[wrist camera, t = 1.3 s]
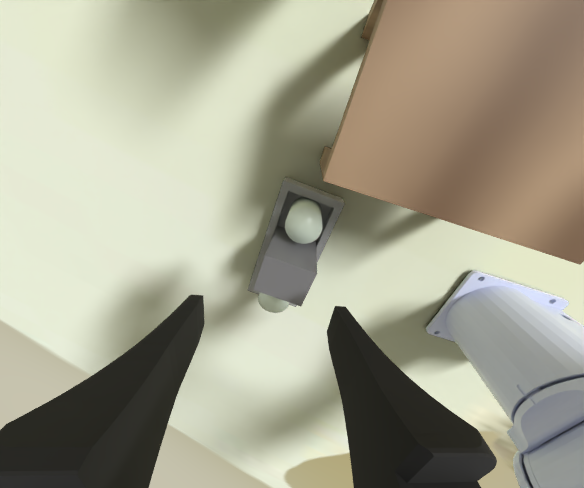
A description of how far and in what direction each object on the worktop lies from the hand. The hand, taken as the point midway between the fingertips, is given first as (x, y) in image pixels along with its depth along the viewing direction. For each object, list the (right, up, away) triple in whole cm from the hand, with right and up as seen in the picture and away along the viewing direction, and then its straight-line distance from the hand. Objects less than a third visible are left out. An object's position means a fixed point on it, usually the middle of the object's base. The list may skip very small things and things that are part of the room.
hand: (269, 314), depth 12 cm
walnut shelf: (+10, +12, +4) cm, 17 cm away
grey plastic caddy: (+1, +4, +9) cm, 10 cm away
